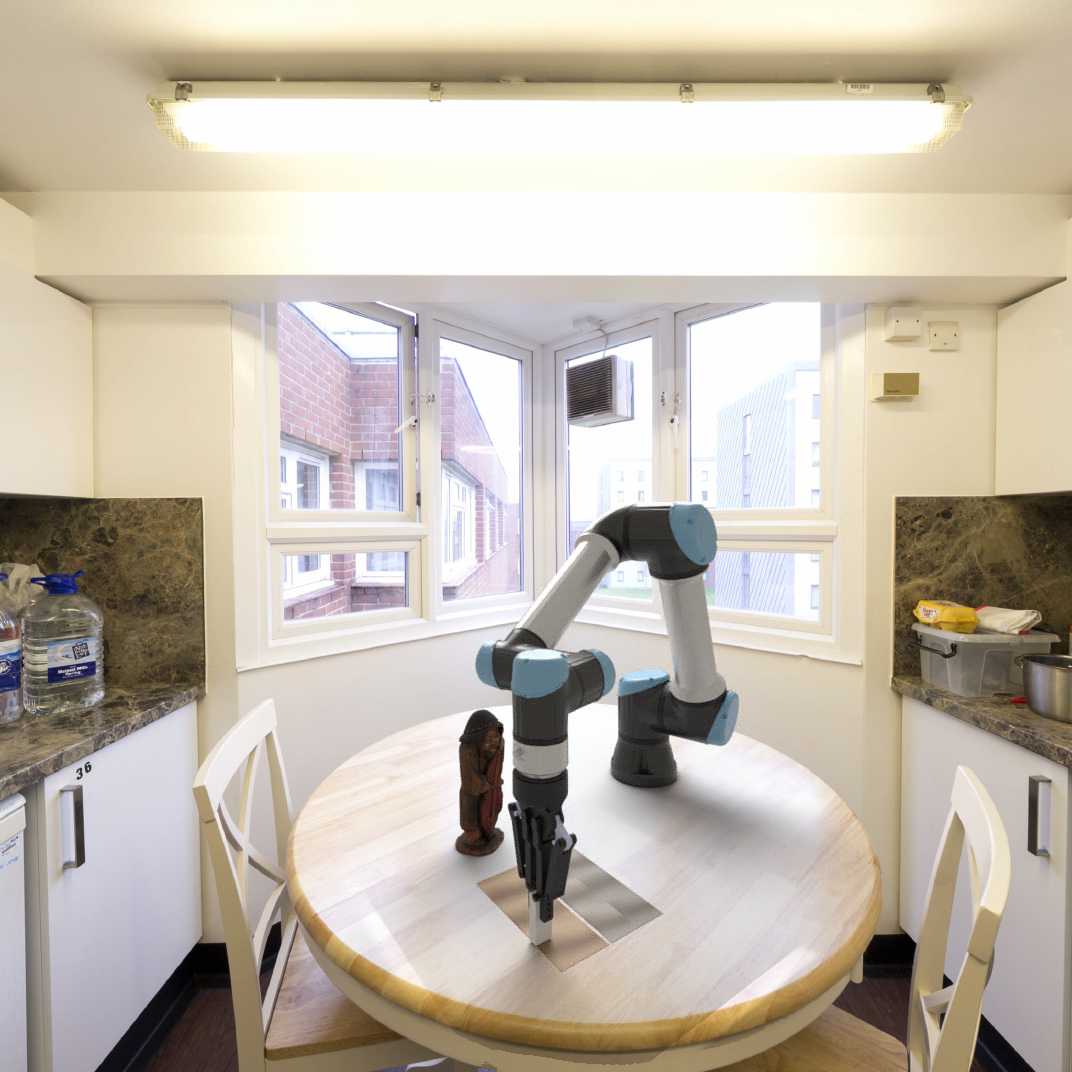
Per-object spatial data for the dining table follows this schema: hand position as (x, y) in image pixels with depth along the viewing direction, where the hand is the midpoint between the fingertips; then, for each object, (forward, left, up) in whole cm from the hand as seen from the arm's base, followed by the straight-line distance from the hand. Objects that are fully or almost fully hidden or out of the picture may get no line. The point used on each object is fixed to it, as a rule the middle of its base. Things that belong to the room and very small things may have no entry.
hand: (540, 938), depth 79 cm
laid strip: (-5, +13, -2) cm, 14 cm away
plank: (-5, +3, -2) cm, 6 cm away
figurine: (-26, +6, -2) cm, 27 cm away
